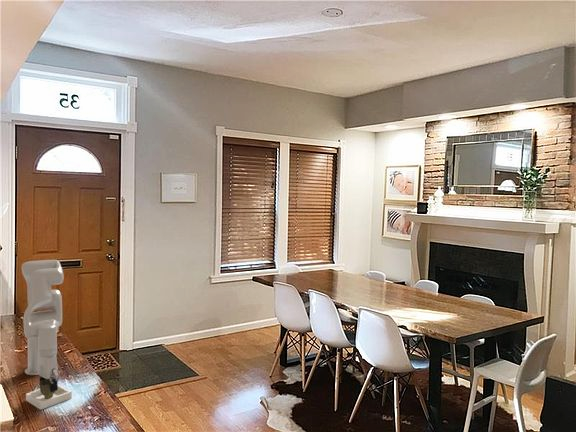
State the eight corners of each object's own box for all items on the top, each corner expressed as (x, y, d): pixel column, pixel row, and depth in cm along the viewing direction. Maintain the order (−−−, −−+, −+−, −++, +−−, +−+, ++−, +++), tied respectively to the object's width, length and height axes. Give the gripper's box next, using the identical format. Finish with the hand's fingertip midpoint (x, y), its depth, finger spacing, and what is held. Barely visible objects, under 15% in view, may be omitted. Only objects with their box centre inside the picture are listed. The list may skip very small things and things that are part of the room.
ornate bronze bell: (40, 395, 214) (40, 378, 214) (58, 393, 217) (58, 376, 216) (38, 402, 207) (38, 385, 207) (56, 400, 210) (56, 382, 209)
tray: (26, 400, 211) (25, 393, 210) (56, 389, 222) (56, 383, 221) (40, 409, 202) (40, 402, 202) (71, 398, 213) (71, 391, 213)
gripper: (30, 349, 213) (31, 385, 214) (48, 358, 202) (49, 396, 203) (47, 345, 219) (48, 380, 220) (65, 353, 208) (66, 390, 209)
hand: (48, 388), depth 211 cm, fingers open, 9 cm apart
